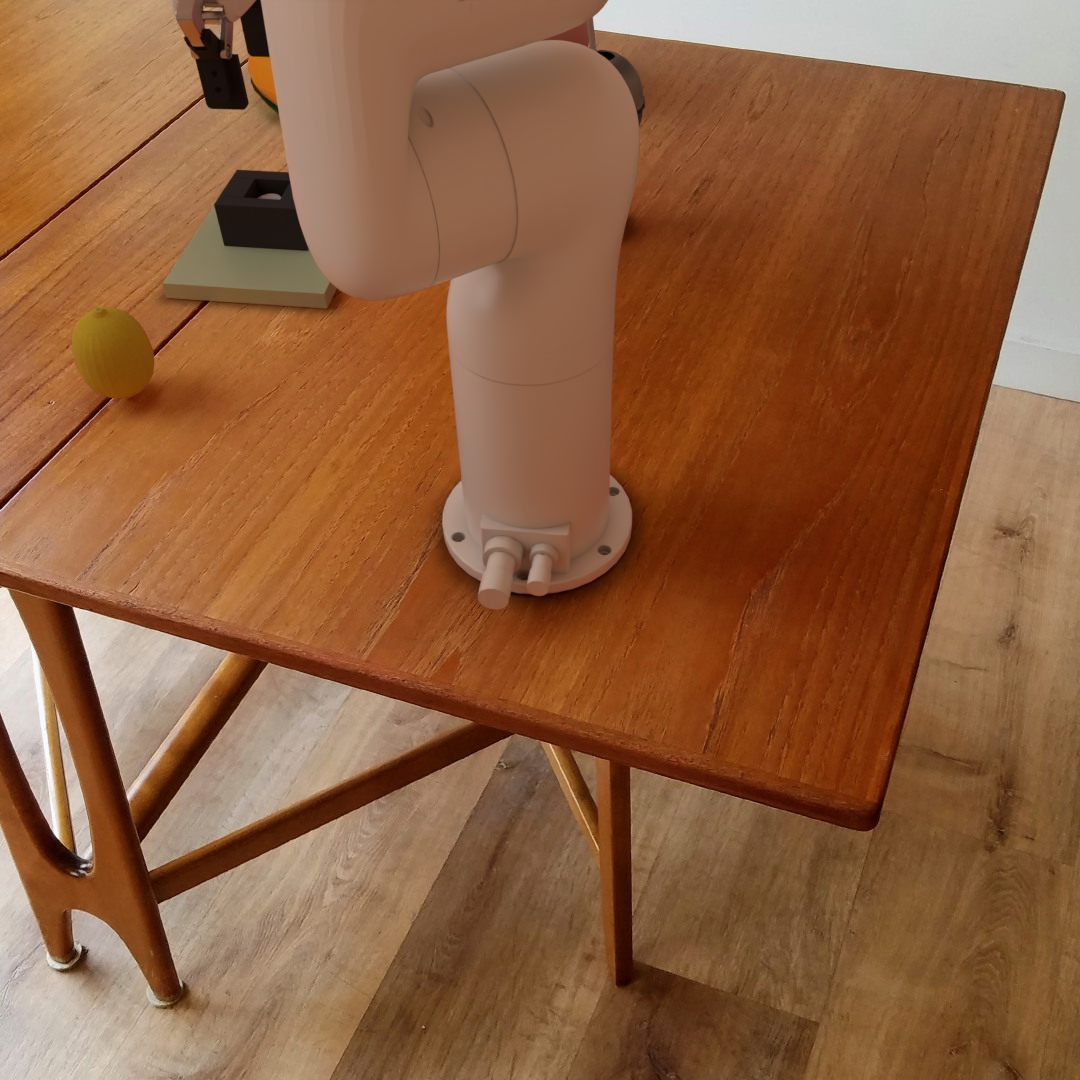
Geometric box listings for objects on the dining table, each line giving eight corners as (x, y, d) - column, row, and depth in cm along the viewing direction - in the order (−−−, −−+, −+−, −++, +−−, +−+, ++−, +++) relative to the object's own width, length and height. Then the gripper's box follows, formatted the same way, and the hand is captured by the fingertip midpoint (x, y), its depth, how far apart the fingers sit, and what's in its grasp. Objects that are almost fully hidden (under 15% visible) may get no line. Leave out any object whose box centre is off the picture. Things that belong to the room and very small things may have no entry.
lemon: (104, 429, 85) (70, 341, 79) (82, 390, 89) (48, 302, 83) (176, 403, 87) (147, 315, 81) (152, 366, 91) (123, 278, 85)
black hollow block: (307, 251, 99) (299, 209, 96) (224, 246, 100) (213, 204, 97) (326, 214, 103) (319, 173, 100) (246, 210, 104) (236, 169, 101)
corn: (286, 3, 121) (375, 69, 109) (303, 73, 127) (389, 144, 115) (221, 25, 119) (304, 96, 107) (242, 96, 124) (323, 170, 112)
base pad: (327, 309, 95) (318, 261, 92) (166, 298, 97) (152, 251, 94) (379, 198, 108) (373, 153, 104) (236, 190, 109) (225, 145, 106)
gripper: (188, -198, 86) (239, 36, 98) (92, -129, 74) (163, 128, 86) (285, -199, 85) (324, 38, 97) (204, -129, 73) (260, 131, 85)
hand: (249, 80), depth 91 cm, fingers open, 9 cm apart
